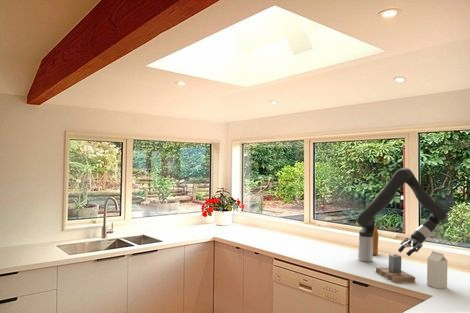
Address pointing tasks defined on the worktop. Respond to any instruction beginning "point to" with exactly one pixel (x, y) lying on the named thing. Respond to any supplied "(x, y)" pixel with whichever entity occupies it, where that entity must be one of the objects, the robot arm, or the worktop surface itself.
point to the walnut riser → (395, 275)
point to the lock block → (394, 263)
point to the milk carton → (437, 270)
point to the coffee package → (375, 241)
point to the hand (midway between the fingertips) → (403, 253)
